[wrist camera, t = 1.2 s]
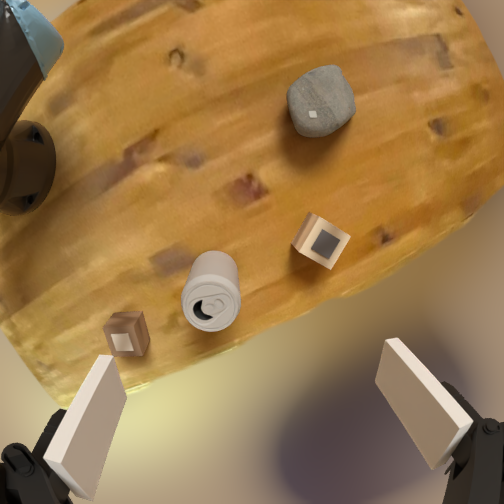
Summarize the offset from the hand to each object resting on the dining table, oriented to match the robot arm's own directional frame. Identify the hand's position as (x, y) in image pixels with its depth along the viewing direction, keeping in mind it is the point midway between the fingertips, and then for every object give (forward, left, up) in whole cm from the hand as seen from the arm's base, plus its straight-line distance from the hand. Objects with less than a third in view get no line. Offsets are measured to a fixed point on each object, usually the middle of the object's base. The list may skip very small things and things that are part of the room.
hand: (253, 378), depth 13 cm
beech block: (+11, +2, -28) cm, 30 cm away
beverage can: (-2, -5, -29) cm, 29 cm away
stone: (+8, +21, -29) cm, 36 cm away
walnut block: (-14, -16, -28) cm, 35 cm away
